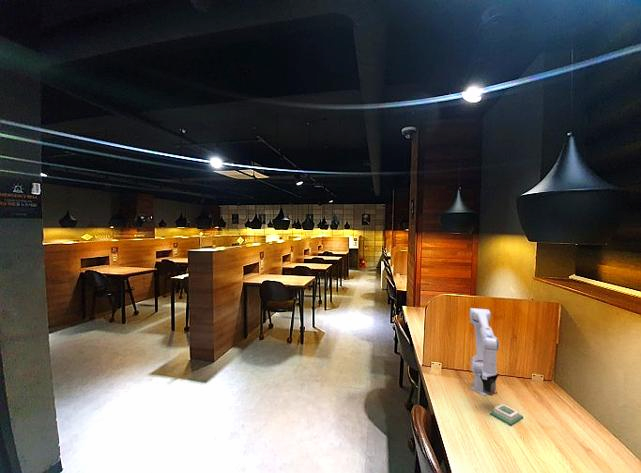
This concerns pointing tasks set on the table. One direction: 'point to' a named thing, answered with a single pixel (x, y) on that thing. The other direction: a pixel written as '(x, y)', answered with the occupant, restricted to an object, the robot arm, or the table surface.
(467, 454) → the table surface
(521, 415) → the board
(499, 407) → the frame
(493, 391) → the plug
